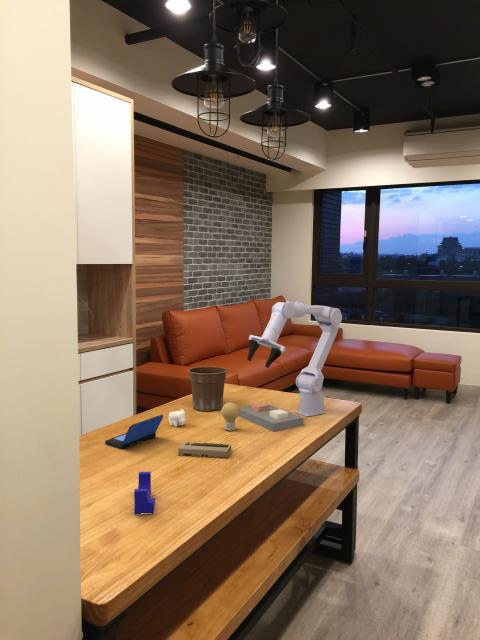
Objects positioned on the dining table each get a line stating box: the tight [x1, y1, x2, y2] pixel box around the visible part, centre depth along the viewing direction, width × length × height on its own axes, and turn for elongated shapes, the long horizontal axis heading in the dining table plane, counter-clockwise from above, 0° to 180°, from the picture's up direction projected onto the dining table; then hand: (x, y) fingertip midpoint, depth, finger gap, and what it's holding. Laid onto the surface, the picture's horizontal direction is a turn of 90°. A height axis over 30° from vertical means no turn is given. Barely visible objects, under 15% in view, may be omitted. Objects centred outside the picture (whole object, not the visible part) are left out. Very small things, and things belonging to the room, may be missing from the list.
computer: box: [177, 441, 232, 459], centre depth 170 cm, size 16×8×3 cm, turn 82°
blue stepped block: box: [133, 471, 156, 515], centre depth 134 cm, size 12×4×6 cm, turn 5°
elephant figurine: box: [168, 408, 187, 428], centre depth 197 cm, size 7×8×6 cm
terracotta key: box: [250, 401, 270, 412], centre depth 209 cm, size 5×5×3 cm
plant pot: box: [187, 365, 228, 412], centre depth 221 cm, size 16×16×16 cm
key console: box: [238, 402, 305, 433], centre depth 205 cm, size 14×24×3 cm, turn 34°
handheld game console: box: [104, 414, 164, 450], centre depth 179 cm, size 16×13×9 cm
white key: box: [269, 408, 289, 419], centre depth 200 cm, size 5×5×3 cm
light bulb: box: [221, 402, 240, 432], centre depth 192 cm, size 6×6×10 cm
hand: (257, 363), depth 195 cm, fingers open, 7 cm apart
